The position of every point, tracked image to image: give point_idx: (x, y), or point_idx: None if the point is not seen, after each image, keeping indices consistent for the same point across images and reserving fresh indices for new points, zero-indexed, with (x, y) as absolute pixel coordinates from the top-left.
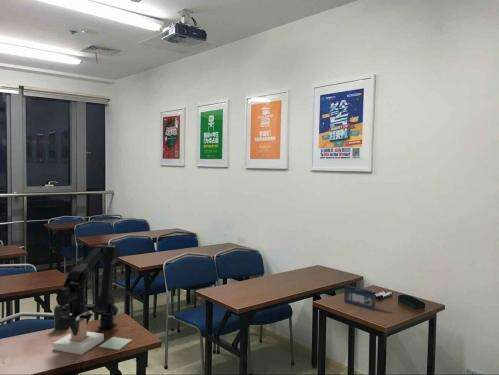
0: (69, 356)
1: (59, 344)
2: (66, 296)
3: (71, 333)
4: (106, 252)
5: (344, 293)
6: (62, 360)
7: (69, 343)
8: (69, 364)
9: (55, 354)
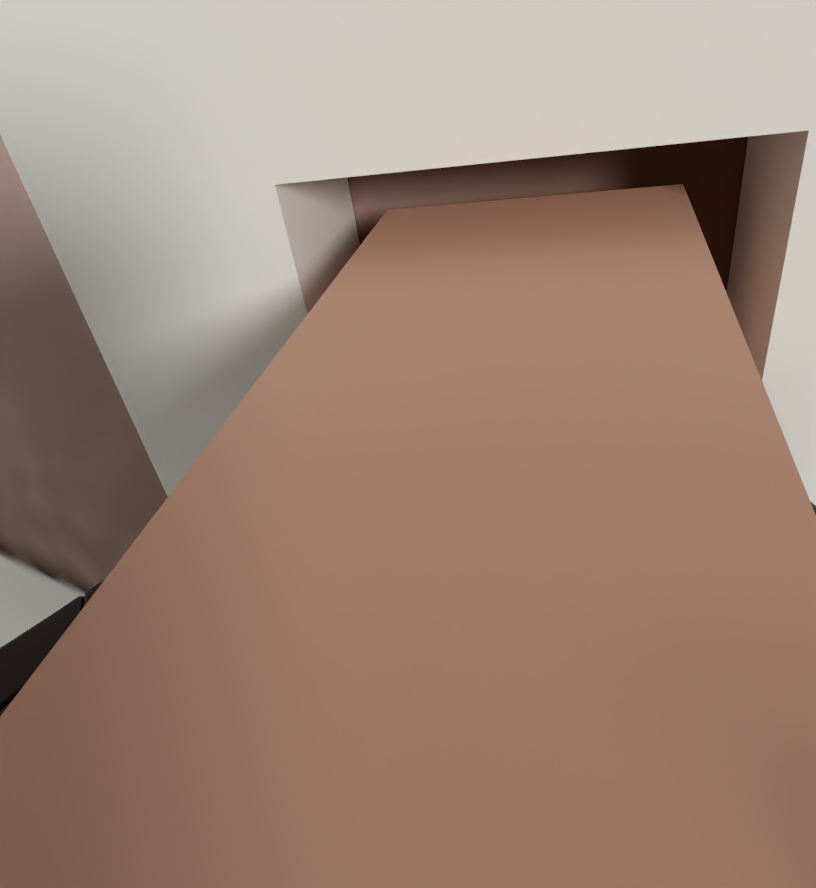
0: (145, 451)
1: (25, 153)
2: None
3: (294, 358)
4: None
5: None
6: (25, 443)
7: (195, 378)
8: (53, 569)
9: (5, 180)
